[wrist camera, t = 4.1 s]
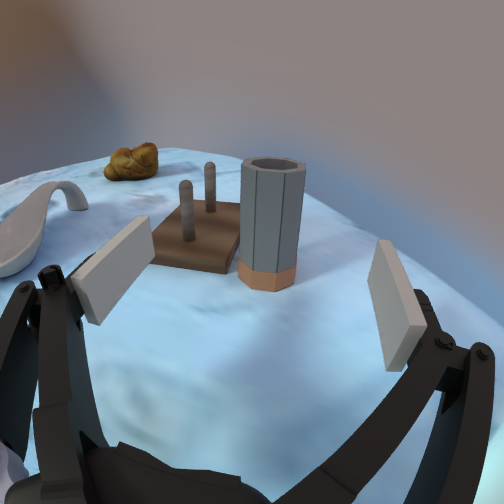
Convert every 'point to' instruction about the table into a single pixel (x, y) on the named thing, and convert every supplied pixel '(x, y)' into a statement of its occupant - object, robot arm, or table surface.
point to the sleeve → (270, 221)
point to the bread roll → (133, 163)
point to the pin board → (199, 230)
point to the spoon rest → (32, 225)
